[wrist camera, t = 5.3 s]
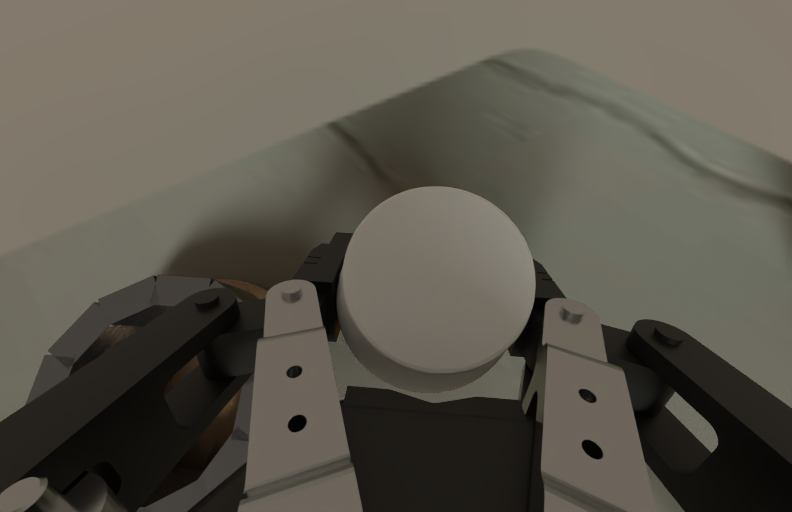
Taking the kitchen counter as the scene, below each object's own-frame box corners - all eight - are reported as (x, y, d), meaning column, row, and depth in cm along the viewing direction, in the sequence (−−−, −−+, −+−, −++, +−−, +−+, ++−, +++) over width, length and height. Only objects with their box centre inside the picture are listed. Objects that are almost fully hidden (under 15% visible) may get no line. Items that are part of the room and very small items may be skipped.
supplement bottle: (355, 275, 16) (293, 178, 7) (453, 257, 16) (525, 138, 7) (372, 381, 14) (320, 448, 5) (480, 360, 15) (618, 386, 5)
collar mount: (331, 289, 16) (309, 271, 12) (299, 516, 13) (257, 589, 9) (149, 276, 16) (70, 255, 12) (79, 494, 13) (-51, 554, 9)
